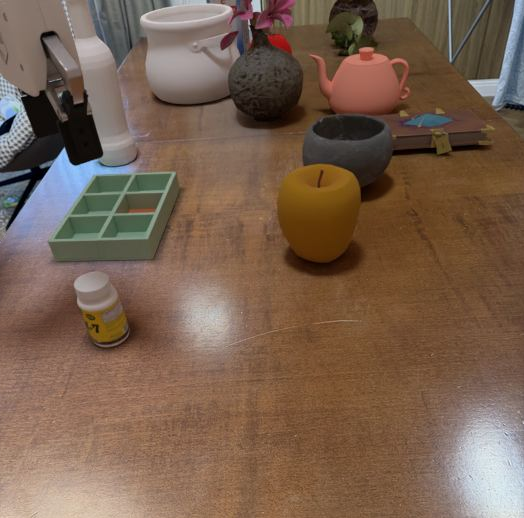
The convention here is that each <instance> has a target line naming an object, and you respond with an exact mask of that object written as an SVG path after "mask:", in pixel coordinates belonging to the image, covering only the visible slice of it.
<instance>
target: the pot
mask: <svg viewBox="0 0 524 518" xmlns="http://www.w3.org/2000/svg"><path fill="white" fill-rule="evenodd" d="M232 15H233V10H232V8H231V7H229V6H227V5H222V4H207V3H189V4H180V5H179V4H178V5H173V6H167V7H162V8H157V9H154V10H151V11H149V12H146V13H144V14H143V15H141V16H140V18H139V24H140V26H141V28H142V29H143V30H144V31H145V34H146V40H147V51H146V57H145V75H146V79H147V83H148V85H149V87H150V91H152V93H153V94H154V95H155V96H156V97H157V98H158V99H159V100H161V101H163V102H166V103H170V104H175V105H198V104H199V105H200V104H206V103H211V102H215V101H219V100H221V99H224V98H226V97H228V96H230V91H229V85H228V74H229V71H230V69H231V67H232V65H233V64H234V62H235V61H236V60H237V58H239V57H240V53H239V50H238V48H237V46H236V44H235V42H234V41H233V43H232V44H231V45H230V46H229V47H227V48H226V49H224V50H223V51H221V47H220V42H221V40H222V39H223V38H224V37H225V36H226V35H227V34H229V33H231V29H230V25H229V26H228V24H227V20H228V18H229V17H230V16H232Z"/></svg>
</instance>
